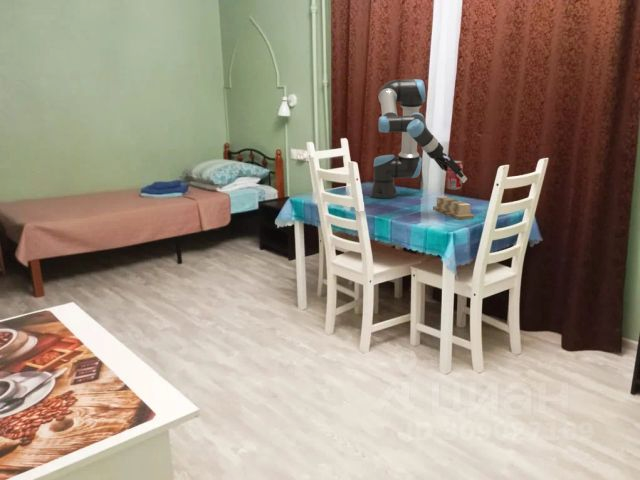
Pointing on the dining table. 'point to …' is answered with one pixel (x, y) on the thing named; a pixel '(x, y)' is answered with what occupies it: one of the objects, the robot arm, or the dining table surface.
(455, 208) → the ridge
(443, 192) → the dining table surface
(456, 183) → the soda can
